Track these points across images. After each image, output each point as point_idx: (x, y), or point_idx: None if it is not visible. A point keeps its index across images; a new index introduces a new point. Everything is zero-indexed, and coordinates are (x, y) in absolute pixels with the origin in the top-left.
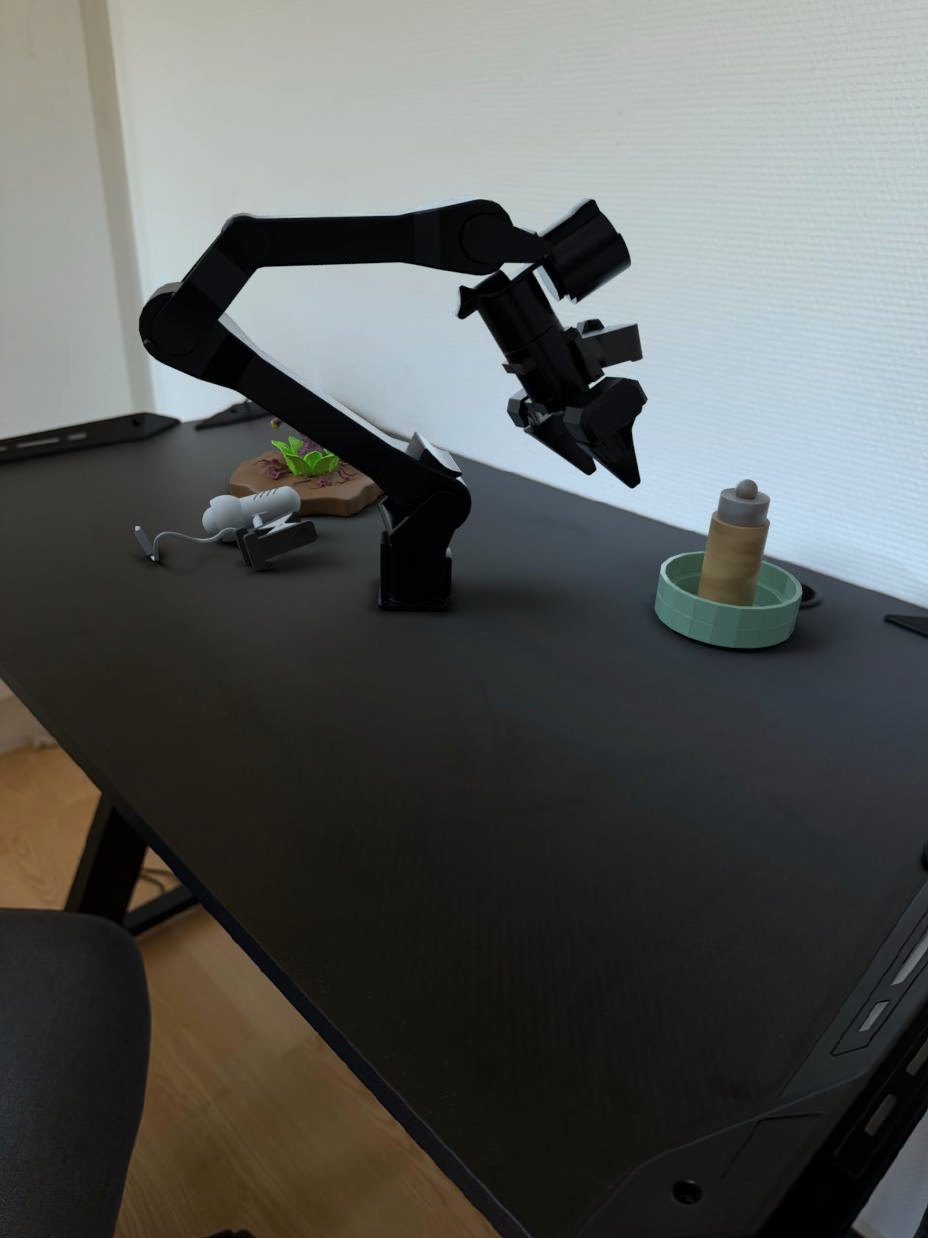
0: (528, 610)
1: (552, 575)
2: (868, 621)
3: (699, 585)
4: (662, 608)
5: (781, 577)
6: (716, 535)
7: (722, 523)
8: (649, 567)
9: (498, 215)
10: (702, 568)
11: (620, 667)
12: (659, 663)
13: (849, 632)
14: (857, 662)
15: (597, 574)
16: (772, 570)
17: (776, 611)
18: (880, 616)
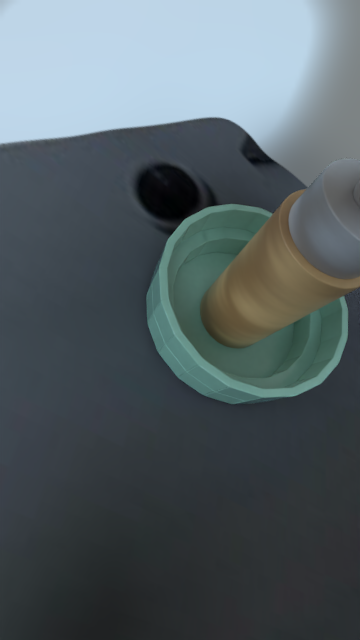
0: (143, 634)
1: (3, 519)
2: (251, 176)
3: (241, 331)
4: (243, 402)
5: (245, 217)
6: (327, 300)
7: (357, 287)
8: (40, 310)
9: None
10: (255, 322)
11: (328, 521)
12: (320, 459)
13: (270, 209)
14: None
15: (34, 417)
16: (229, 213)
17: None
18: (243, 159)
